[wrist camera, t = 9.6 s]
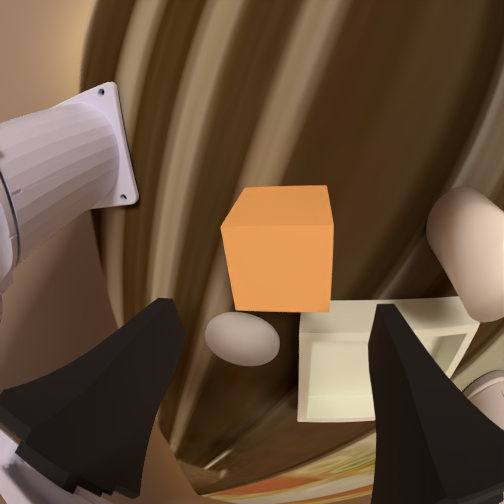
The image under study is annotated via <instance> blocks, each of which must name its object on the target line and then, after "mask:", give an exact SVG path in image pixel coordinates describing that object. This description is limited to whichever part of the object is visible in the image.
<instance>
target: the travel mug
mask: <svg viewBox="0 0 504 504" xmlns="http://www.w3.org/2000/svg"><path fill="white" fill-rule="evenodd" d="M463 394H464V395H465V396H466V397H467V398H468V399H469V400H470V401H471V402H472V403H473V404H474V405H475V406H476V407H477V408H478V409H479V410H480V411H481V412H482V413H484V414H485V415H486V416H487V417H488V418H489V419H490V420H491V421H493V422H494V423H495V424H496V425H498V426H499V427H500V428H501V429H503V430H504V371H502V370H496V371H492V372H489V373H487V374H485V375H483V376H481V377H480V378H478V379H477V380H475V381H474V382H473V383H471V384H470V385H469V386H468V387H467V389H466V390H465V391H464V393H463ZM503 494H504V492H503ZM499 504H504V500H503V502H501V503H499Z"/></svg>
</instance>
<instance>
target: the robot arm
mask: <svg viewBox="0 0 504 504" xmlns="http://www.w3.org/2000/svg"><path fill="white" fill-rule="evenodd" d="M103 89H104V95H102V90H103ZM123 194H124V195H125V196H126V197H127V199H125V198H124V196H123ZM138 199H139V194H138V190H137V186H136V182H135V178H134V173H133V169H132V165H131V160H130V156H129V151H128V146H127V141H126V136H125V131H124V126H123V120H122V115H121V109H120V103H119V96H118V90H117V86H116V84H115V83H114V82H107V83H104V84H102V85H99V86H97V87H94V88H92V89H90V90H87V91H85V92H83V93H81V94H79V95H76V96H74V97H72V98H70V99H68V100H66V101H64V102H62V103H60V104H58V105H56V106H54V107H52V108H50V109H46V110H42V111H39V112H35V113H32V114H28V115H25V116H21V117H18V118H15V119H12V120H9V121H6V122H3V123H0V321H1V317H2V311H3V303H2V296H1V294H2V293H3V292H4V291H5V290H6V289H7V288H8V287H10V286H11V285H12V284H13V278H12V271H13V269H14V268H15V267H16V266H17V265H18V264H19V263H21V262H22V261H23V260H24V259H25V258H26V257H28V256H29V255H30V254H31V253H32V252H33V251H35V250H36V249H37V248H38V247H39V246H40V245H42V244H43V243H44V242H45V241H46V240H48V239H49V238H50V237H52V236H53V235H54V234H56V233H57V232H58V231H59V230H61V229H62V228H63V227H65V226H66V225H67V224H68V223H70V222H71V221H73V220H74V219H75V218H77V217H78V216H79V215H81V214H82V213H83V212H85V211H86V210H88V209H96V208H104V207H113V206H121V205H130V204H134V203H135V202H137V201H138ZM185 340H186V335H185V332H184V329H183V327H182V324H181V321H180V318H179V316H178V313H177V310H176V307H175V304H174V301H173V299H168V298H158V299H156V300H155V301H154V302H152V303H151V304H150V305H148V306H147V307H146V308H145V309H143V310H142V311H141V312H140V313H138V314H137V315H136V316H135V317H133V318H132V319H131V320H130V321H128V322H127V323H126V324H125V325H123V326H122V327H121V328H120V329H119V330H117V331H116V332H115V333H113V334H112V335H111V336H109V337H108V338H107V339H106V340H104V341H103V342H101V343H100V344H99V345H97V346H96V347H95V348H93V349H92V350H90V351H89V352H87V353H86V354H84V355H83V356H81V357H80V358H78V359H76V360H75V361H73V362H71V363H69V364H68V365H66V366H64V367H62V368H60V369H58V370H56V371H54V372H52V373H50V374H48V375H46V376H43V377H41V378H39V379H36V380H34V381H31V382H28V383H26V384H22V385H19V386H16V387H12V388H9V389H5V390H4V391H3V392H2V393H1V395H0V423H1V424H2V425H4V426H5V427H6V428H7V429H8V430H9V431H11V432H12V433H13V434H14V435H15V436H16V437H18V438H19V439H20V440H21V442H20V444H19V443H18V442H17V441H15V440H14V439H13V438H12V437H11V436H9V435H8V434H7V433H6V432H4V431H3V430H2V429H0V494H1V495H2V496H3V498H4V499H5V501H6V502H7V504H113V503H111V502H109V501H107V500H105V499H103V498H101V495H102V492H104V493H106V494H108V495H112V494H113V491H115V492H117V493H119V494H122V495H124V496H126V497H129V498H131V499H134V498H137V497H139V496H140V487H141V478H142V471H143V466H144V460H145V455H146V450H147V446H148V442H149V438H150V434H151V430H152V427H153V423H154V420H155V417H156V414H157V411H158V409H159V406H160V404H161V401H162V399H163V397H164V395H165V392H166V390H167V388H168V386H169V383H170V381H171V379H172V377H173V374H174V372H175V370H176V368H177V365H178V363H179V361H180V358H181V354H182V351H183V347H184V344H185ZM368 362H369V375H370V382H371V389H372V396H373V404H374V412H375V421H376V461H375V474H374V484H373V492H372V499H371V504H499V503H501V502H503V500H504V494H503V492H504V430H503V429H501V428H500V427H499V426H498V425H496V424H495V423H494V422H493V421H491V420H490V419H489V418H488V417H487V416H486V415H485V414H484V413H482V412H481V411H480V410H479V409H478V408H477V407H476V406H475V405H474V404H473V403H472V402H471V401H470V400H469V399H468V398H467V397H466V396H465V395H464V394H463V393H462V392H461V391H460V390H459V389H458V388H457V387H456V385H455V384H454V383H453V382H452V381H451V380H450V379H449V378H448V376H447V375H446V374H445V373H444V371H443V370H442V369H441V368H440V366H439V365H438V364H437V363H436V361H435V360H434V359H433V357H432V356H431V355H430V354H429V352H428V351H427V349H426V348H425V347H424V345H423V344H422V343H421V341H420V340H419V338H418V337H417V336H416V334H415V333H414V331H413V330H412V328H411V327H410V326H409V324H408V323H407V321H406V320H405V318H404V317H403V315H402V314H401V312H400V311H399V310H398V308H397V307H396V305H395V304H394V303H393V304H377V306H376V311H375V315H374V320H373V325H372V329H371V333H370V337H369V342H368Z"/></svg>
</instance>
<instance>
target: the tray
mask: <svg viewBox="0 0 504 504" xmlns="http://www.w3.org/2000/svg"><path fill="white" fill-rule="evenodd" d="M393 303H394V304H395V305H396V307H397V308H398V310H399V311H400V312H401V314H402V315H403V317H404V318H405V320H406V321H407V323H408V324H409V326H410V327H411V328H412V330H413V331H414V333H415V334H416V336H417V337H418V338H419V340H420V341H421V343H422V344H423V345H424V347H425V348H426V349H427V351H428V352H429V354H430V355H431V356H432V357H433V359H434V360H435V361H436V363H437V364H438V365H439V366H440V368H441V369H442V370H443V371H444V373H445V374H446V375H447V376H448V378H449V379H450V377H451V375H452V374H453V372H454V371H455V369H456V367H457V366H458V364H459V362H460V360H461V359H462V357H463V355H464V353H465V352H466V350H467V348H468V346H469V344H470V342H471V340H472V339H473V337H474V335H475V333H476V331H477V329H478V327H479V325H480V323H479V321H476V320H474V319H472V318H471V317H470V316H469V315H468V313H467V311H466V309H465V307H464V305H463V303H462V301H461V299H460V297H459V296H457V297H441V298H421V299H395V300H350V301H330V308H329V312H301V316H300V329H299V393H298V422H354V421H372V420H375V412H374V404H373V396H372V389H371V382H370V375H369V362H368V342H369V337H370V333H371V329H372V325H373V320H374V315H375V311H376V306H377V304H393Z"/></svg>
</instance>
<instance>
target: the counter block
mask: <svg viewBox="0 0 504 504" xmlns="http://www.w3.org/2000/svg"><path fill="white" fill-rule="evenodd" d="M333 231H334V224H333V218H332V212H331V207H330V201H329V196H328V191H327V186H277V187H252V188H244V190H243V191H242V193H241V195H240V196H239V198H238V199H237V201H236V203H235V204H234V206H233V207H232V209H231V211H230V212H229V214H228V216H227V217H226V219H225V220H224V222H223V224H222V225H221V232H222V237H223V243H224V249H225V254H226V260H227V265H228V271H229V276H230V282H231V287H232V292H233V298H234V303H235V308H236V310H244V311H271V312H329V308H330V295H331V279H332V260H333Z"/></svg>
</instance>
